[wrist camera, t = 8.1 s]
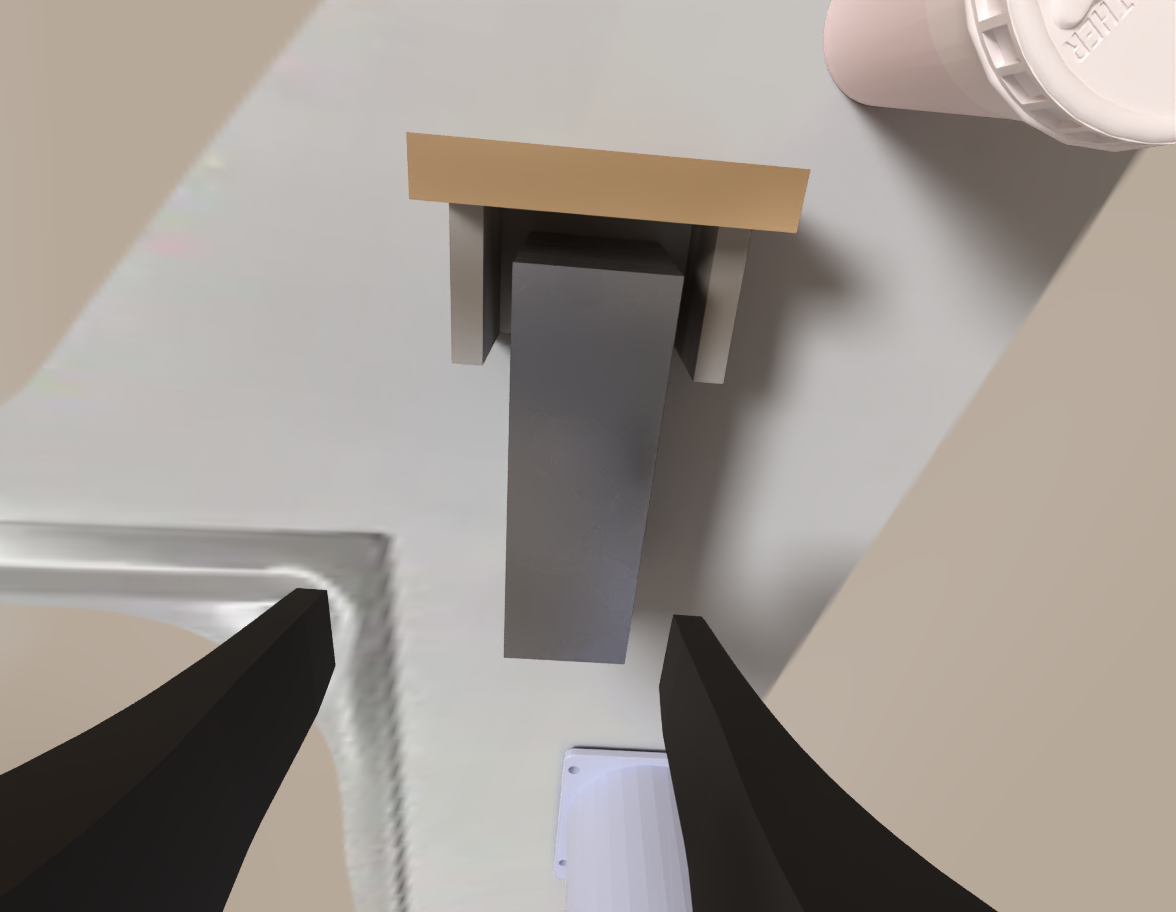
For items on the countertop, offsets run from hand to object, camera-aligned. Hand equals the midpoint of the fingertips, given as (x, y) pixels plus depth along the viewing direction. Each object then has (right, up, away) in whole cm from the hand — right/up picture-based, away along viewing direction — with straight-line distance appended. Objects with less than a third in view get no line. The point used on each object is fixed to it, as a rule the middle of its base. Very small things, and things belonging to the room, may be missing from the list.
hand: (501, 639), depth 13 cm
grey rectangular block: (+2, +5, +8) cm, 9 cm away
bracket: (+2, +10, +6) cm, 11 cm away
